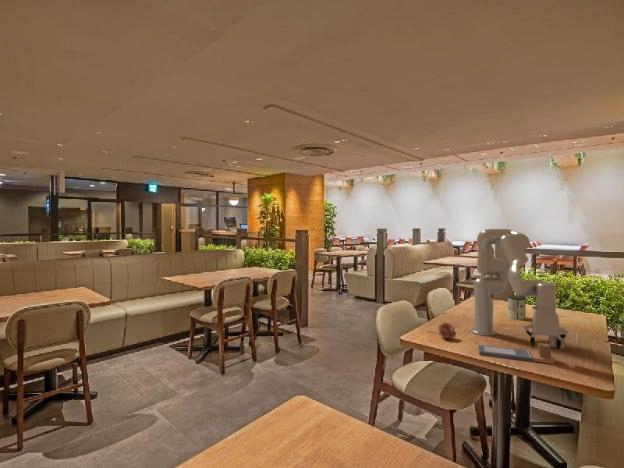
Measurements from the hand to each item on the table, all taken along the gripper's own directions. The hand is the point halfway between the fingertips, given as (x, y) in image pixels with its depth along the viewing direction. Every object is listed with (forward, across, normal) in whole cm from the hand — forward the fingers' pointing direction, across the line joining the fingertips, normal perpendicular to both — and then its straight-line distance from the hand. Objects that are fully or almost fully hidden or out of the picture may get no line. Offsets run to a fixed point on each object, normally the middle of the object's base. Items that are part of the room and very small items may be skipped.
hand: (545, 346), depth 165 cm
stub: (+6, -1, +1) cm, 6 cm away
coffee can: (+5, -2, +76) cm, 76 cm away
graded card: (+6, +18, +46) cm, 49 cm away
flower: (+6, -43, +15) cm, 45 cm away
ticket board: (+6, -17, +1) cm, 18 cm away
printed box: (+6, +9, +23) cm, 25 cm away
